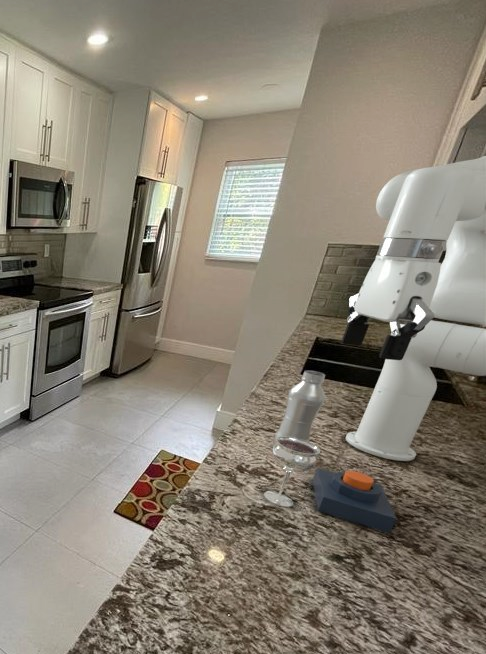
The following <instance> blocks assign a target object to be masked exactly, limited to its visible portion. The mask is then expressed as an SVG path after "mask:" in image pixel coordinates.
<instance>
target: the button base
mask: <svg viewBox="0 0 486 654" xmlns="http://www.w3.org/2000/svg"><path fill="white" fill-rule="evenodd" d="M345 472H346V471H344V472H342V471H337V472H335V471H331V470H327V469H322V468H319V467H316V470H315V472H314V475H313V478H312V485H313V492H314V497H315V501H316V508H317V511H318V512H321V513H324V514H327V515H331V516H333V517H337V518H340V519H343V520H346V521H349V522H353V523H356V524H359V525H362V526H366V527H369V528H372V529H375V530H379V531H382V532H385V533H388V534H390V533H391V531H392V528H393V526H394V524H395V522H396V520H397V516H396V515H395V512H394V509H393V508H392V506H391V503H390V501H389V499H388V497H387V495H386V492H385V490H384V488H383V486H382V484H378V483H377V482H373V484H372V486H371V488H370V490H362V489H358V488H354V487H352V486H350V485H348V484H346V483H345V482H344V481H343V477H344V475H345Z"/></svg>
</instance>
